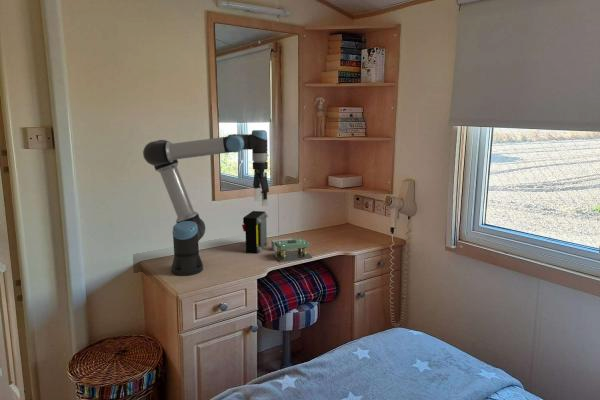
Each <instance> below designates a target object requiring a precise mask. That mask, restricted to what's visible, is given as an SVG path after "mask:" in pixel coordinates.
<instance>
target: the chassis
mask: <svg viewBox="0 0 600 400" xmlns="http://www.w3.org/2000/svg"><path fill="white" fill-rule="evenodd" d="M299 239H300V240H301V239H302V238H299ZM279 243H281V242H279ZM304 243H305V242H304ZM282 246H284V245H282ZM272 256H273V257H274V258H275V259H276V261H278V262H279V263H286V262H292V261H293V262H294V261H301V260H302V261H303V260H309V259H313V256H312V255H311V254H310V253H308V247H304V248H297V250H296V249H295V250H289V251H288V250H280V249H279V248H278V247H277V251H276V252H272Z"/></svg>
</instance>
